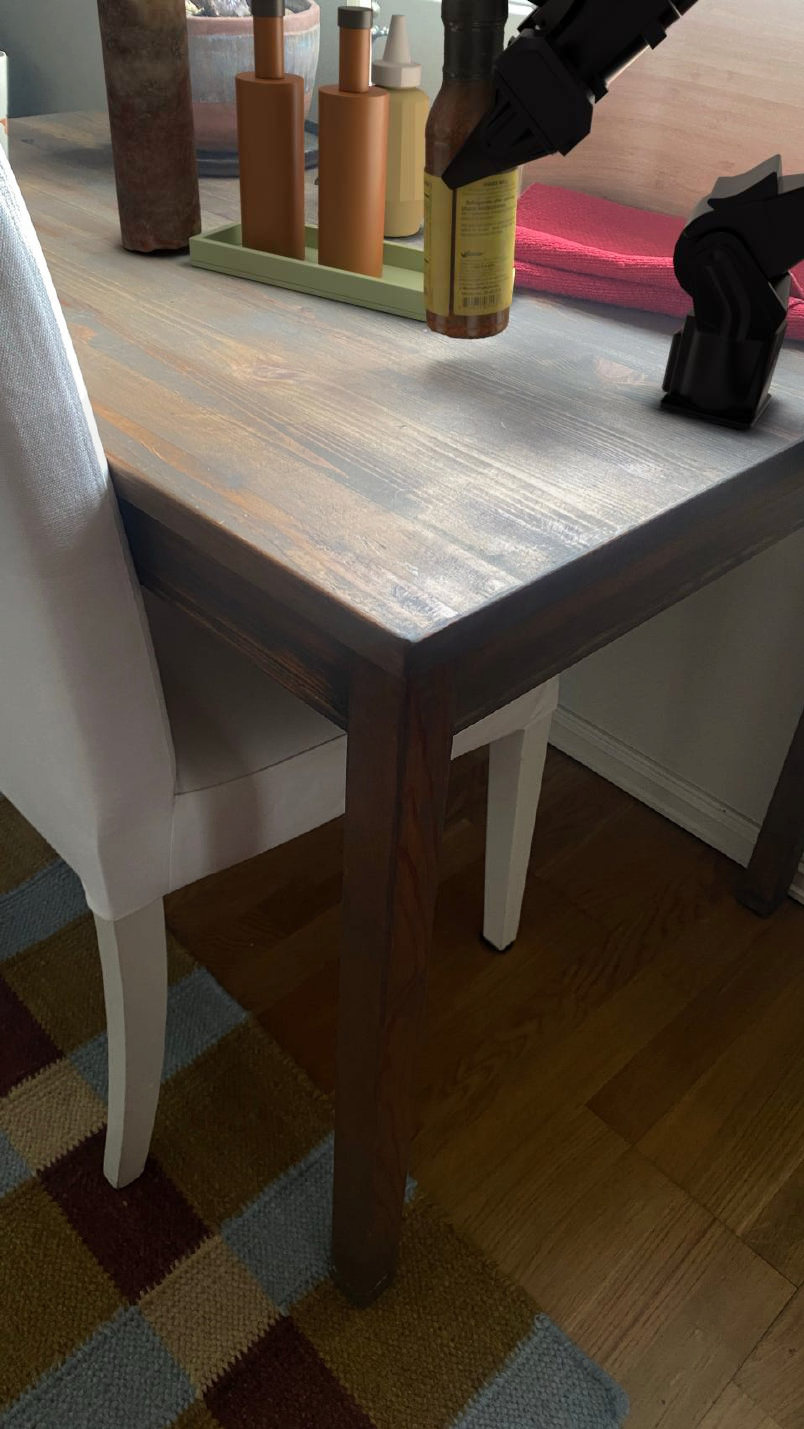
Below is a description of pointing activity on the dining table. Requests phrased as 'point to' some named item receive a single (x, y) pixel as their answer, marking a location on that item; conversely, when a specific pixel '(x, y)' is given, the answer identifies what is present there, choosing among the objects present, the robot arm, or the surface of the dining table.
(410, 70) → the squeeze bottle
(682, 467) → the dining table surface
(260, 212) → the bottle tray
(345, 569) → the dining table surface
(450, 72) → the sauce bottle
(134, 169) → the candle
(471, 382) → the dining table surface
